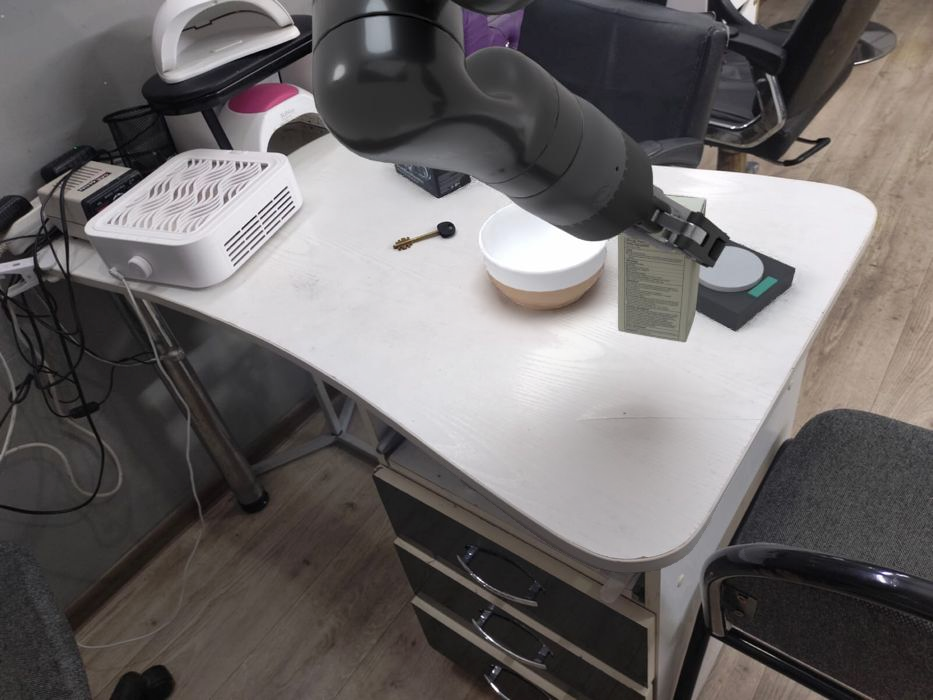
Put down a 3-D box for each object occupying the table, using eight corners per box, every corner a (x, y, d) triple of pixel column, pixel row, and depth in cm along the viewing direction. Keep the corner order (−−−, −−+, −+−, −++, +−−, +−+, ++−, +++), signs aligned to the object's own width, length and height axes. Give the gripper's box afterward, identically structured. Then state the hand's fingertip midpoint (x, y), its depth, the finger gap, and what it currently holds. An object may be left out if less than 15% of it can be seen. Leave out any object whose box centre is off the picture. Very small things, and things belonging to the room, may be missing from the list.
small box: (393, 171, 115) (378, 103, 107) (426, 156, 117) (414, 87, 109) (437, 199, 106) (424, 127, 98) (472, 182, 109) (462, 110, 101)
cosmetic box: (696, 313, 62) (712, 196, 54) (686, 345, 59) (701, 227, 51) (626, 301, 64) (631, 187, 56) (613, 331, 62) (616, 216, 53)
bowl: (558, 341, 80) (555, 289, 75) (459, 293, 89) (451, 243, 84) (634, 271, 88) (636, 219, 82) (536, 233, 96) (533, 183, 91)
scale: (791, 285, 82) (797, 262, 79) (735, 331, 78) (739, 308, 75) (713, 250, 89) (716, 228, 86) (658, 290, 84) (659, 268, 82)
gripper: (693, 145, 39) (775, 227, 52) (522, 87, 48) (627, 169, 60) (628, 263, 41) (723, 314, 53) (474, 185, 49) (586, 245, 62)
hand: (672, 237), depth 57 cm, fingers closed on cosmetic box, 7 cm apart
